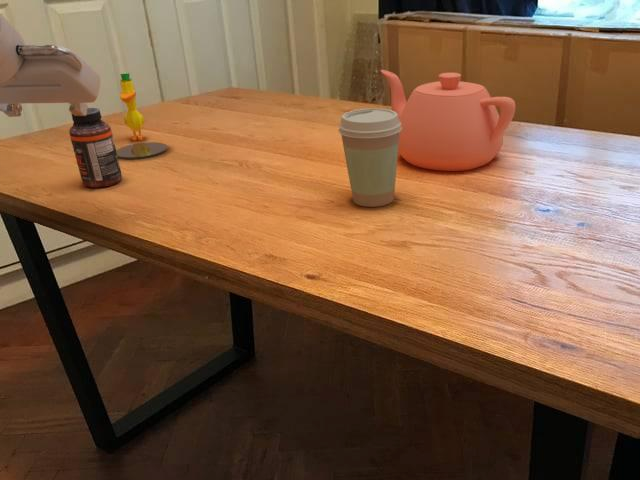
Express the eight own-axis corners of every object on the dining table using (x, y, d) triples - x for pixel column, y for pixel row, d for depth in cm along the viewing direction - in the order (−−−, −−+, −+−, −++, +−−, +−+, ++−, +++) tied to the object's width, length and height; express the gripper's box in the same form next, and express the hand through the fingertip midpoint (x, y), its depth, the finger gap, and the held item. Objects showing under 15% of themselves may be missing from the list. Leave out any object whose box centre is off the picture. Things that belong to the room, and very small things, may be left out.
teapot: (354, 157, 111) (349, 75, 105) (412, 133, 122) (411, 58, 116) (484, 184, 97) (487, 92, 91) (535, 155, 109) (542, 70, 102)
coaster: (104, 155, 117) (103, 153, 117) (142, 142, 124) (142, 140, 124) (140, 162, 113) (139, 159, 113) (178, 147, 120) (177, 145, 120)
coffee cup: (395, 186, 98) (393, 105, 92) (410, 207, 91) (408, 120, 85) (339, 192, 97) (333, 110, 91) (348, 214, 89) (343, 126, 83)
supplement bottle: (77, 182, 104) (57, 111, 99) (113, 173, 108) (97, 103, 102) (91, 191, 101) (72, 117, 95) (129, 182, 104) (112, 109, 99)
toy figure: (144, 143, 123) (130, 77, 117) (124, 145, 122) (109, 78, 117) (149, 133, 129) (136, 70, 123) (131, 135, 128) (116, 71, 122)
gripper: (70, 23, 77) (125, 90, 90) (-93, 27, 79) (-16, 92, 92) (61, 70, 75) (118, 131, 88) (-106, 73, 77) (-25, 133, 90)
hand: (49, 111), depth 90 cm, fingers open, 8 cm apart
